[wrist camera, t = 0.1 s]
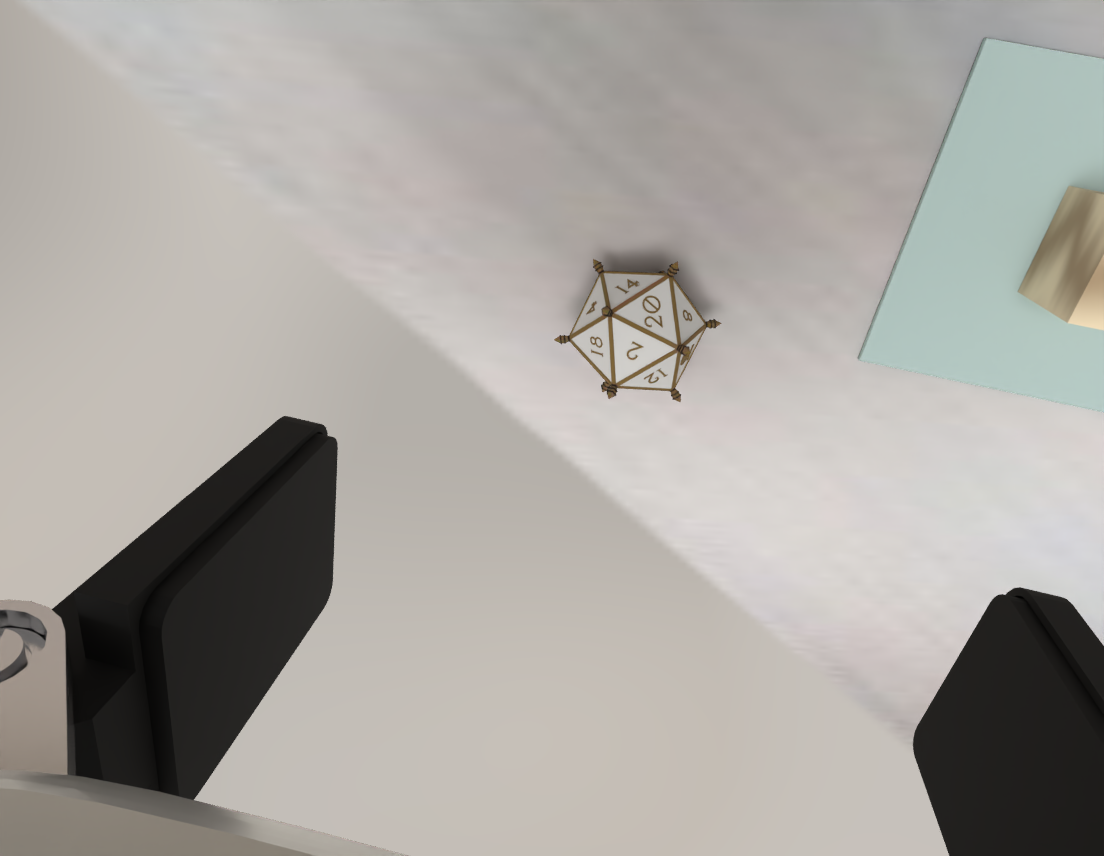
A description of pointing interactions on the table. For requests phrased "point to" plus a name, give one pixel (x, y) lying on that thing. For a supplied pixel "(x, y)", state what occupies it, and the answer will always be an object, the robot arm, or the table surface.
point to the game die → (638, 330)
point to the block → (1071, 261)
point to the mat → (999, 233)
